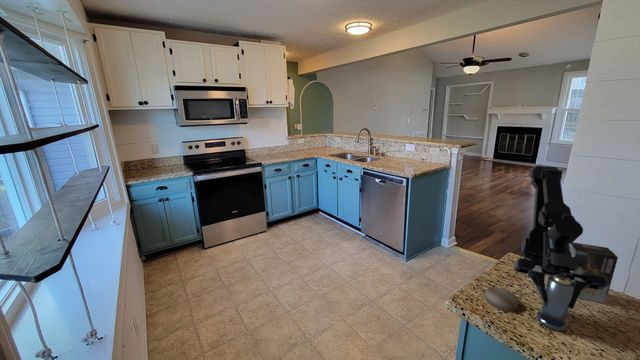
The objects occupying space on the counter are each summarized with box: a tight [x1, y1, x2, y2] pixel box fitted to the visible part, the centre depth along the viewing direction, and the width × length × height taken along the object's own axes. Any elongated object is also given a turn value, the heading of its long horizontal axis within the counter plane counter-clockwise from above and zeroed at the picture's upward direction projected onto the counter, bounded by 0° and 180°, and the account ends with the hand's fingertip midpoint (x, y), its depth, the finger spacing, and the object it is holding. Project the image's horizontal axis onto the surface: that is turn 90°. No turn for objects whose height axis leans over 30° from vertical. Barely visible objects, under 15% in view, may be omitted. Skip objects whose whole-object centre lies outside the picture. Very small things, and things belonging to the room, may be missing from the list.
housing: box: [536, 274, 575, 332], centre depth 72 cm, size 6×6×14 cm
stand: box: [484, 286, 519, 312], centre depth 82 cm, size 8×8×2 cm
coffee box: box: [569, 241, 619, 304], centre depth 83 cm, size 9×6×16 cm
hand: (557, 305), depth 71 cm, fingers closed on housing, 5 cm apart
